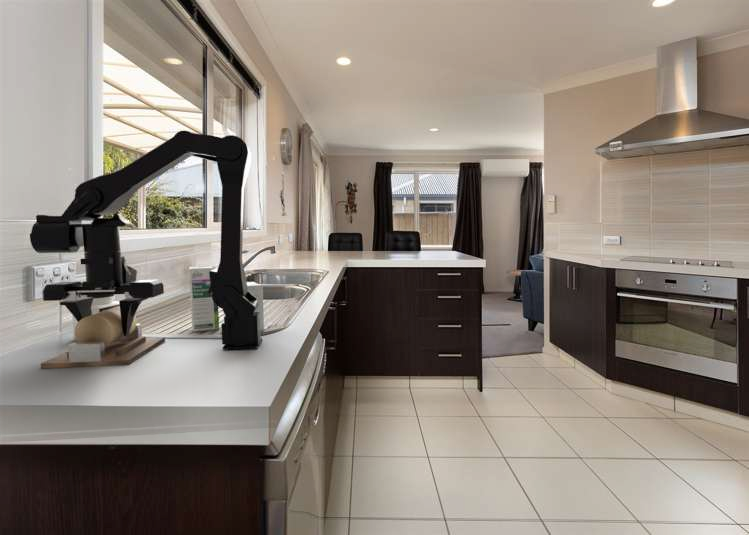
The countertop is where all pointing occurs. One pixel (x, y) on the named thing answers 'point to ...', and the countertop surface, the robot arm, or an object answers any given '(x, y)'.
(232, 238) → the robot arm
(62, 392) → the countertop surface
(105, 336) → the paper roll
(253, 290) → the small box
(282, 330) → the countertop surface
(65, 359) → the holder stand
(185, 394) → the countertop surface
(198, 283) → the syrup box
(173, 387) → the countertop surface
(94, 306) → the medicine bottle
